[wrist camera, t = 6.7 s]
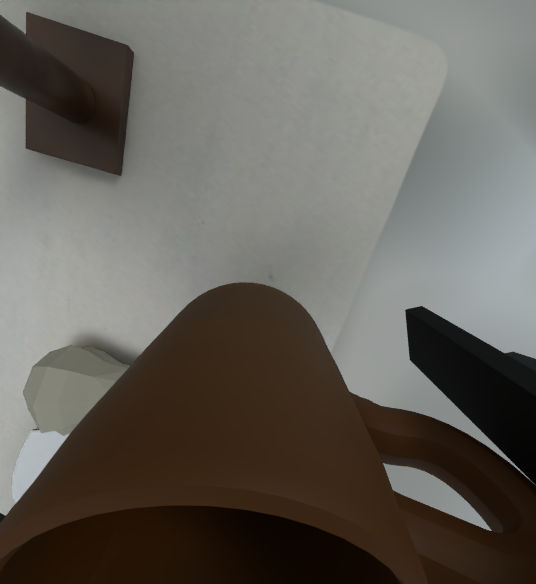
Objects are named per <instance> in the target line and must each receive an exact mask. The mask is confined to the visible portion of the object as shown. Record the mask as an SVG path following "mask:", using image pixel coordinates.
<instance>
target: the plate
mask: <svg viewBox="0 0 536 584" xmlns="http://www.w3.org/2000/svg"><path fill="white" fill-rule="evenodd" d="M68 436H69V434H67V435H65V436H62V435H61V434H59V433H58V432H56V431H51V432H46V433H41V432H40V430H39V429H34V430H31V432H30V434H29V435H28V437H27V439H26V441H25V443H24V445H23V447H22V449H21V451H20V453H19V456H18V458H17V461H16V464H15V467H14V470H13V476H12V482H11V484H12V492H13V498H14V502H15V504H16V503H17V501H18V500H19V499H20V498H21V497H22V495H23V494H24V493H25V492H26V491H27V489H28V488H29V487H30V486H31V485H32V483H33V482H34V481H35V479H36V478H37V477H38V475H39V474H40V473H41V471H42V470H43V469H44V467H45V466H46V465H47V463H48V462H49V461H50V459H51V458H52V457H53V455H54V454H55V453H56V451H57V450H58V449H59V447H60V446H61V445H62V444H63V442H64V441H65V440H66V438H67V437H68Z"/></svg>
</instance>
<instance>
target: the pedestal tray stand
mask: <svg viewBox="0 0 536 584" xmlns="http://www.w3.org/2000/svg"><path fill="white" fill-rule="evenodd" d="M133 57H134V52H133V51H132V50H131V49H130V47H129V46H128V45H125V44H122V43H119V42H116V41H113V40H110V39H107V38H104V37H101V36H98V35H95V34H92V33H89V32H86V31H83V30H80V29H77V28H74V27H71V26H68V25H65V24H62V23H59V22H56V21H53V20H50V19H46V18H43V17H40V16H37V15H34V14H31V13H28V12H26V34H24V33H23V32H22V31H21V30H19V29H18V28H17V27H15V26H14V25H13V24H11V23H10V22H9V21H8V20H6V19H5V18H4V17H2V16H1V15H0V86H1V87H3V88H5V89H7V90H9V91H11V92H13V93H15V94H17V95H19V96H21V97H23V98H25V99H26V148H27V149H30V150H33V151H37V152H40V153H44V154H47V155H51V156H54V157H57V158H61V159H64V160H68V161H71V162H75V163H78V164H82V165H85V166H89V167H92V168H96V169H99V170H103V171H106V172H110V173H113V174H117V175H120V176H121V174H122V164H123V154H124V144H125V135H126V125H127V115H128V105H129V96H130V86H131V76H132V66H133Z"/></svg>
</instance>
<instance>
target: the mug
mask: <svg viewBox="0 0 536 584" xmlns="http://www.w3.org/2000/svg"><path fill="white" fill-rule="evenodd" d="M383 463H385V464H390V465H397V466H408V467H413V468H417V469H420V470H423V471H425V472H427V473H429V474H431V475H434V476H435V477H437V478H439V479H440V480H442V481H443V482H445V483H446V484H447V485H449V486H450V487H451V488H453V489H454V490H455V491H456V492H457V493H458V494H460V495H461V496H462V497H463V498H464V499H465V500H466V501H467V502H468V503H469V504H470V505H471V506H472V507H473V508H474V509H475V510H476V511H477V513H478V514H479V515H480V516H481V517H482V518H483V520H484V521H485V522H486V523H487V525H488V526H489V527H490V529H491V530H492V531H489V530H486V529H483V528H481V527H479V526H476V525H474V524H471V523H469V522H466V521H464V520H462V519H459V518H457V517H454V516H452V515H449V514H447V513H444V512H442V511H440V510H437V509H435V508H432V507H430V506H428V505H425V504H423V503H420V502H418V501H415V500H413V499H411V498H408V497H406V496H403V495H401V494H399V493H397V492H395V491H393V490H392V487H391V484H390V482H389V479H388V476H387V473H386V470H385V468H384V465H383ZM0 584H536V485H535V484H533V483H532V482H531V481H530V480H529V479H528V478H526V477H525V476H524V475H523V474H522V473H521V472H520V471H518V469H516V468H515V467H514V466H513V465H511V464H510V463H509V462H508V461H506V460H505V459H503V458H502V457H501V456H499V455H498V454H497V453H495V452H494V451H493V450H491V449H490V448H489V447H487V446H486V445H484V444H483V443H481V442H479V441H478V440H476V439H475V438H473V437H471V436H469V435H468V434H467V433H465V432H462V431H461V430H459V429H457V428H455V427H453V426H451V425H449V424H446V423H444V422H442V421H439V420H437V419H434V418H432V417H429V416H426V415H422V414H419V413H416V412H412V411H407V410H402V409H396V408H389V407H384V406H380V405H378V404H376V403H373V402H372V401H370V400H367V399H365V398H362V397H359V396H357V395H355V394H353V393H351V392H349V390H348V388H347V386H346V384H345V382H344V380H343V377H342V375H341V373H340V371H339V369H338V367H337V365H336V363H335V361H334V359H333V357H332V355H331V353H330V351H329V349H328V347H327V345H326V343H325V341H324V339H323V336H322V334H321V332H320V330H319V329H318V327H317V325H316V323H315V321H314V320H313V318H312V317H311V316H310V314H309V313H308V312H307V310H306V309H305V308H304V307H303V306H302V305H301V304H300V303H298V302H297V301H296V300H295V299H293V298H292V297H291V296H289V295H287V294H286V293H284V292H282V291H280V290H278V289H275V288H273V287H270V286H266V285H263V284H257V283H232V284H227V285H223V286H219V287H217V288H214V289H211V290H209V291H207V292H205V293H203V294H201V295H200V296H198V297H197V298H196V299H194V300H193V301H192V302H190V303H189V304H188V305H187V306H186V307H185V308H184V309H183V310H182V311H181V312H180V313H179V314H178V315H177V316H176V317H175V318H174V319H173V321H172V322H171V323H170V324H169V325H168V326H167V327H166V328H165V329H164V330H163V331H162V332H161V333H160V334H159V335H158V336H157V338H156V339H155V340H154V341H153V342H152V343H151V344H150V345H149V346H148V347H147V348H146V349H145V350H144V351H143V353H142V354H141V355H140V356H139V357H138V358H137V359H136V360H135V361H134V362H133V364H132V365H131V366H130V367H129V368H128V369H127V370H126V371H125V372H124V373H123V375H122V376H121V377H120V378H119V379H118V380H117V381H116V382H115V383H114V384H113V386H112V387H111V388H110V389H109V390H108V391H107V392H106V393H105V394H104V395H103V397H102V398H101V399H100V400H99V401H98V402H97V403H96V404H95V405H94V406H93V408H92V409H91V410H90V411H89V412H88V413H87V414H86V415H85V417H84V418H83V419H82V420H81V421H80V422H79V424H78V425H77V426H76V427H75V428H74V429H73V431H72V432H71V433H70V434H69V436H68V437H67V438H66V440H65V441H64V442H63V444H62V445H61V446H60V447H59V449H58V450H57V451H56V453H55V454H54V455H53V457H52V458H51V459H50V461H49V462H48V463H47V465H46V466H45V467H44V469H43V470H42V471H41V473H40V474H39V475H38V477H37V478H36V479H35V481H34V482H33V483H32V485H31V486H30V487H29V488H28V489H27V491H26V492H25V493H24V494H23V495H22V497H21V498H20V499H19V500H18V501H17V503H16V504H15V505H14V506H13V508H12V509H11V510H10V511H9V513H8V514H7V515H6V516H5V518H4V519H3V520H2V522H1V523H0Z"/></svg>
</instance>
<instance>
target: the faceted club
mask: <svg viewBox="0 0 536 584" xmlns="http://www.w3.org/2000/svg"><path fill="white" fill-rule="evenodd" d="M130 366H131V365H126V364H121V363H120V362H118V361H117V360H115V359H114V358H113V357H111V356H110V355H108V354H107V353H105V352H104V351H102V350H99V349H97V348H94V347H91V346H88V347H84V348H80V347H76V346H73V345H70V346H67V347H64V348H61V349H58V350H54V351H51V352H49V353H48V354H47V355H46V356H45V357H43V358H42V359H41V360H40V361H39V362H38V363H36V364H35V365H34V366H33V367H32V370H31V372H30V375H29V378H28V380H27V383H26V385H25V388H24V390H23V394H24V397H25V400H26V403H27V407H28V410H29V412H30V413H31V415H32V417H33V419H34V421H35V423H36V425H37V427H38V428H39V430H40V432H41V433H46V432H51V431H56V432H58V433H59V434H61V435H62V436H65V435H67V434H70V433H71V432H72V431H73V429H74V428H75V427H76V426H77V425H78V424H79V422H80V421H81V420H82V419H83V418H84V417H85V415H86V414H87V413H88V412H89V411H90V410H91V409H92V408H93V406H94V405H95V404H96V403H97V402H98V401H99V400H100V399H101V398H102V397H103V395H104V394H105V393H106V392H107V391H108V390H109V389H110V388H111V387H112V386H113V384H114V383H115V382H116V381H117V380H118V379H119V378H120V377H121V376H122V375H123V373H124V372H125V371H126V370H127V369H128V368H129V367H130Z"/></svg>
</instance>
